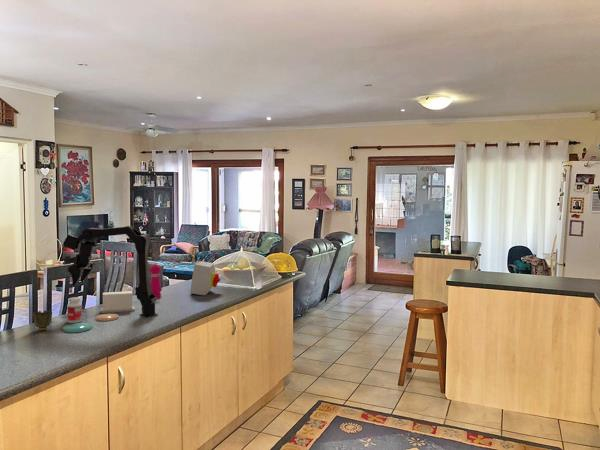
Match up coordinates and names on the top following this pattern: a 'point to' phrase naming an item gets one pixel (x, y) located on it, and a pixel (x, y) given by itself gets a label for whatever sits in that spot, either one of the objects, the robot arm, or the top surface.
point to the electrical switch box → (203, 278)
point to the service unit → (117, 302)
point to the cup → (42, 319)
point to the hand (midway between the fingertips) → (77, 283)
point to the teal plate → (77, 327)
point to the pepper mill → (155, 280)
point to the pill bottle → (74, 310)
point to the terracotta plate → (107, 317)
